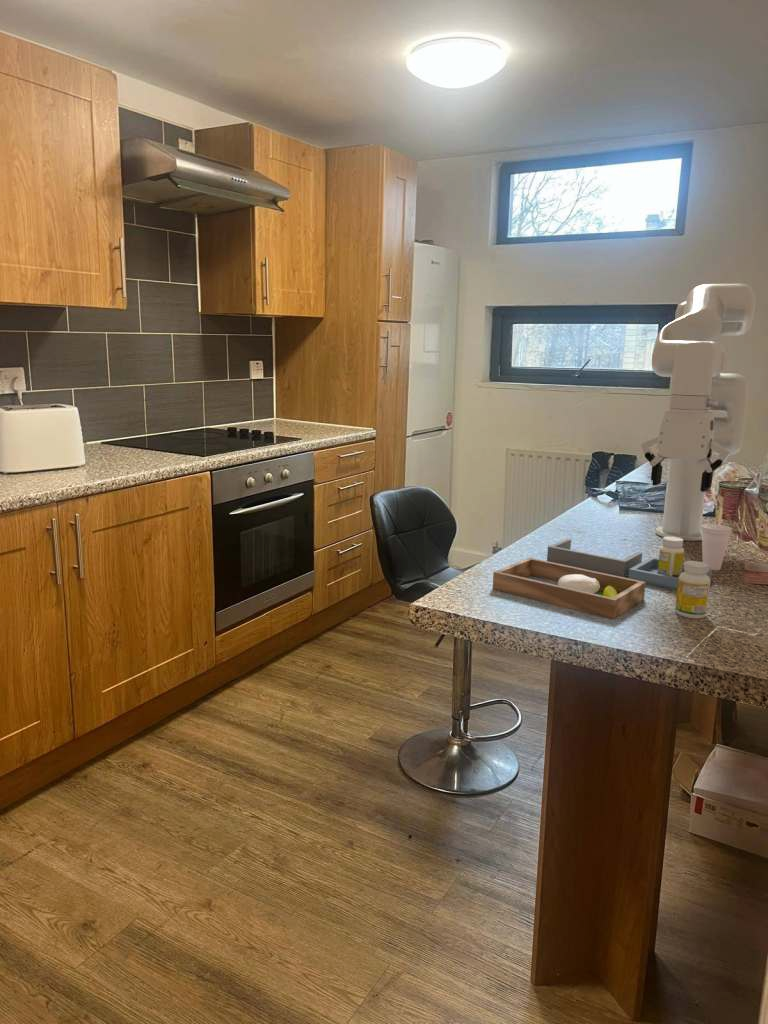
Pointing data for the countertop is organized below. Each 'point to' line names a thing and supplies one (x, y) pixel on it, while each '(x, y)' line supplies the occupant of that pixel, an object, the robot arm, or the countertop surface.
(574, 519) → the countertop surface
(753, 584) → the countertop surface
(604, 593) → the plate of lemons
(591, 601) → the wooden rectangular frame
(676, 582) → the tray
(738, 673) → the countertop surface
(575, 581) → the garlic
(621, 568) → the bay
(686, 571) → the supplement bottle
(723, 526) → the smoothie
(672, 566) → the supplement bottle
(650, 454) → the robot arm
